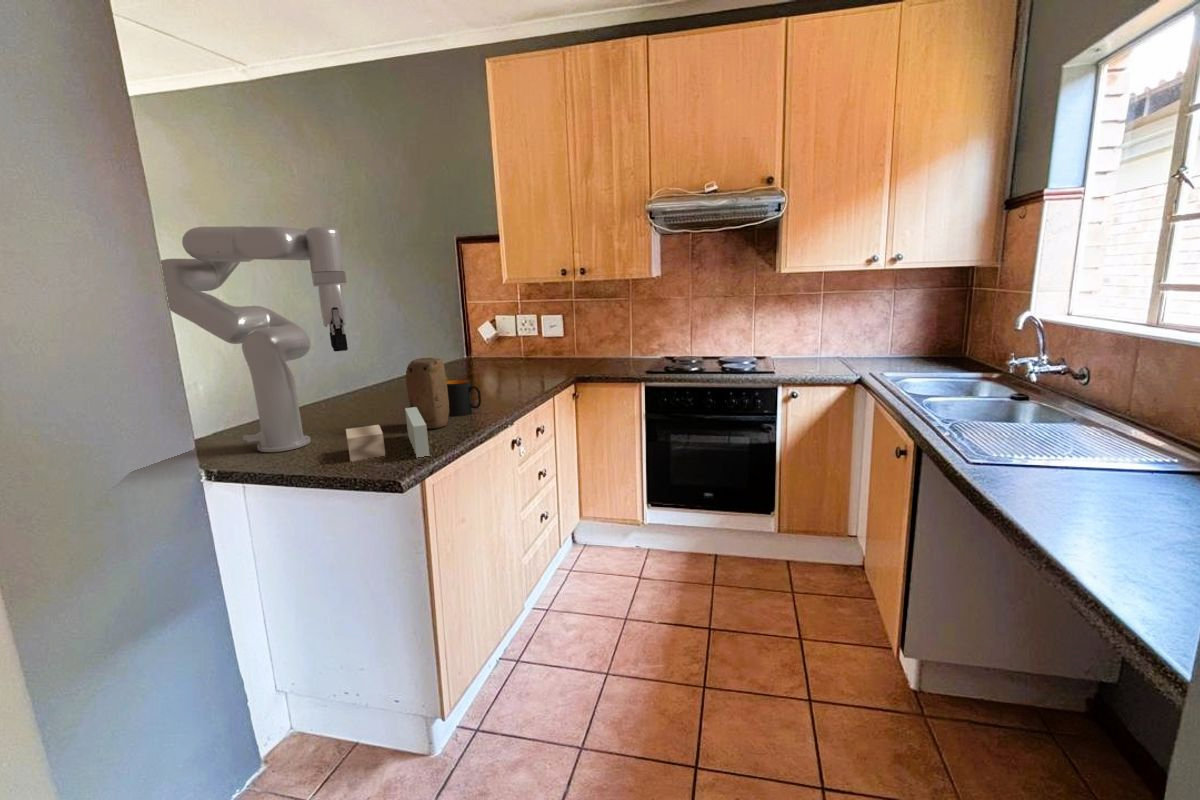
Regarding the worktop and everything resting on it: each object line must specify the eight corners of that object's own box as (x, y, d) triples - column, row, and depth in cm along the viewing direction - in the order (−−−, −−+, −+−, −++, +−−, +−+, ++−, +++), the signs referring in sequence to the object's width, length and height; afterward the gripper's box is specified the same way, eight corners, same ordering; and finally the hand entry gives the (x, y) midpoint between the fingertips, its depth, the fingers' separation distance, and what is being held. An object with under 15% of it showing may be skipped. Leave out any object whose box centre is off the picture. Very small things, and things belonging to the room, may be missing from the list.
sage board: (417, 458, 136) (413, 426, 135) (408, 436, 156) (405, 408, 154) (429, 456, 137) (426, 424, 136) (419, 434, 157) (416, 406, 155)
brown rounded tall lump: (453, 424, 167) (447, 357, 163) (437, 430, 161) (430, 361, 156) (423, 421, 171) (416, 356, 167) (407, 428, 164) (399, 360, 160)
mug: (477, 416, 175) (474, 384, 173) (441, 416, 178) (438, 384, 175) (487, 410, 183) (484, 379, 181) (452, 410, 185) (449, 379, 183)
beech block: (350, 462, 136) (347, 438, 135) (348, 451, 145) (345, 429, 143) (385, 456, 139) (382, 433, 138) (381, 446, 148) (379, 424, 147)
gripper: (311, 280, 144) (322, 347, 148) (313, 280, 129) (324, 354, 133) (343, 279, 147) (353, 344, 151) (348, 278, 132) (358, 350, 136)
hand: (339, 348), depth 142 cm, fingers open, 9 cm apart
